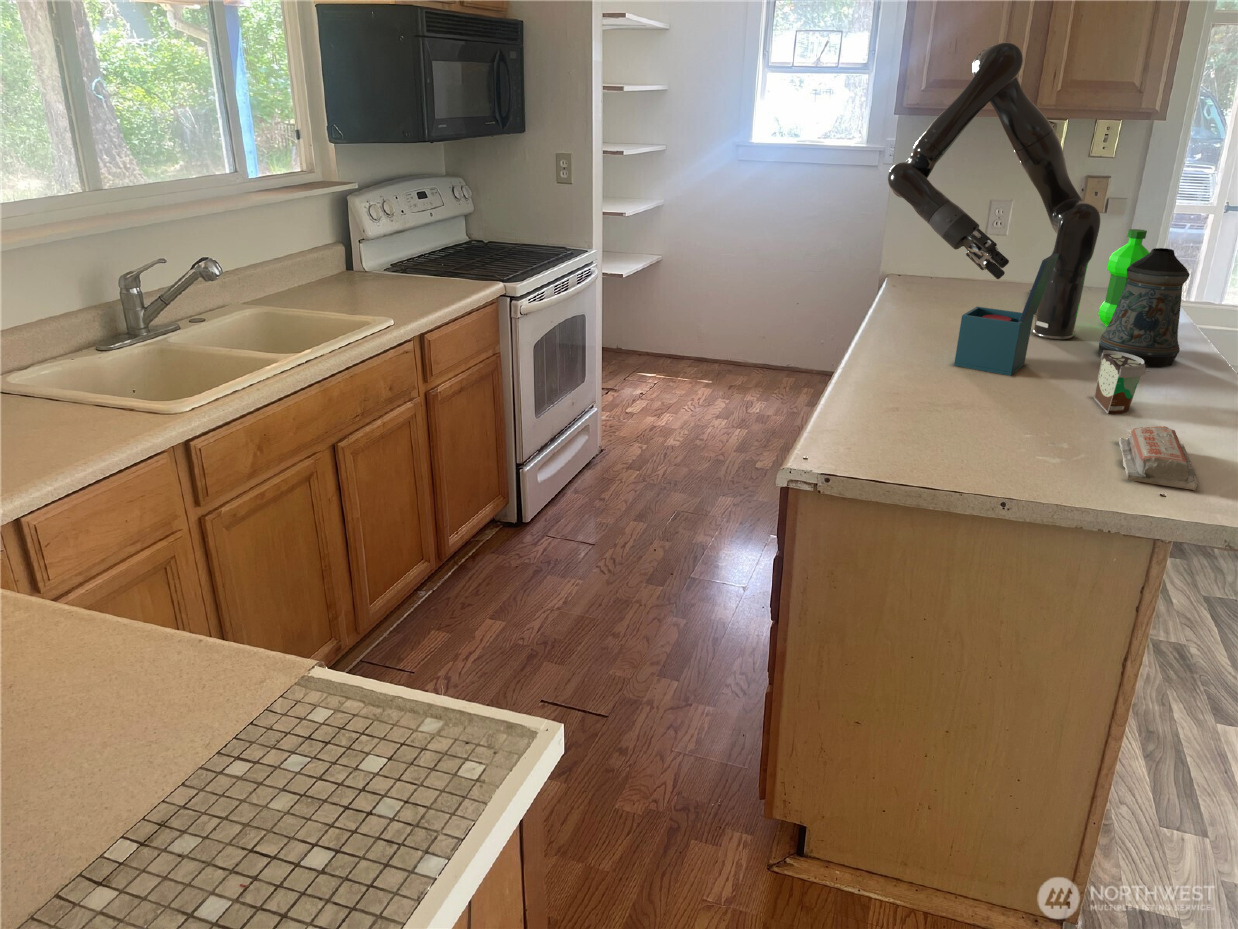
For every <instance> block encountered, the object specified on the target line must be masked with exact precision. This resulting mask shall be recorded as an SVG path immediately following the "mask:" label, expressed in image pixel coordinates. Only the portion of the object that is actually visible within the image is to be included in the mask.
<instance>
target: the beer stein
mask: <svg viewBox="0 0 1238 929" xmlns="http://www.w3.org/2000/svg"><path fill="white" fill-rule="evenodd" d="M1127 277H1128V279H1127V283H1126V286H1125V288H1124V290H1123V293H1122V295H1121V298H1120V300H1119V302H1118V305H1117V307H1116V309H1115V312H1114V314H1113V316H1112V319H1111V321H1110V323H1109V324H1108V326H1106V328H1105V330H1104V332H1103V333H1102V334H1101V335H1100V337H1099V340H1098V355H1099V356H1100V357H1101V356H1102V353H1103V350H1108V351H1117V352H1123V353H1127V354H1131V355H1134V356H1137V357H1139V358H1141V359H1143V360H1144V364H1145V368H1165V367H1171V366H1172V365H1173V364H1174V362H1175V360H1176V358H1177V357H1178V355H1179V353H1180V351H1181V349H1180V344H1179V339H1178V338H1179V324H1180V317H1181V316H1180V315H1181V309H1182V308H1181V307H1182V298H1183V297H1182V296H1183V288H1184V287H1183V286H1184V284H1185V283H1186V282H1187V281H1188V279H1189V277H1190V272H1189V270H1188V268H1187V267H1186V266H1185V265H1184V264H1183V263H1182V262H1181V261H1180V260H1179V259H1178V258H1177V256H1176V255H1175V250H1174V249H1171V248H1166V247H1164V248H1163V247H1157V248H1155V247H1154V248H1152V249H1151V251H1149V254H1148V255H1146V256H1144V257H1143V258H1141V259H1139V260H1138V261H1136V262H1134V263H1133V264H1131V265H1130V266H1129V267H1128V268H1127Z"/></svg>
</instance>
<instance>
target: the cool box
mask: <svg viewBox="0 0 1238 929" xmlns="http://www.w3.org/2000/svg"><path fill="white" fill-rule="evenodd" d="M984 315H1002V316H1006V317H1009V318H1011V319H1012V320H1011V321H1004V320H997V319H990V318H983V317H982V316H984ZM1021 315H1022V312H1020V311H1012V310H1005V309H998V308H993V307H984V306H975V307H974V308H972V309H970V310H968V311H967V312H964V313H963V314H962V315H961V317H960V324H959V332H958V338H957V343H956V350H955V356H954V363H953V366H955V367H960V368H965V369H970V370H977V371H981V372H988V373H993V374H997V375H998V374H999V375H1005V376H1009V377H1011V376H1013V375H1014V374H1016V373H1017V371H1018V370H1020V369H1021V368H1022V367H1023V366H1025V362H1026V357H1027V354H1028V353H1027V352H1028V347H1029V341H1030V336H1031V331H1032V326H1033V321H1034V315H1035V314H1034V315H1032V316H1031V317H1030V318H1028V319H1027V320H1025V321H1024V322H1021V321H1019V320H1020V318H1021Z"/></svg>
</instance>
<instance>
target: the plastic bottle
mask: <svg viewBox="0 0 1238 929" xmlns="http://www.w3.org/2000/svg"><path fill="white" fill-rule="evenodd" d="M1147 233H1148V230H1146V229H1141V228H1138V229H1137V228H1131V229H1128V231H1127V235H1126V238H1128V242H1127V243H1126V244H1124V245H1123V246H1121V247H1119V248H1118V249H1116V250H1115V251H1113V252H1112V253H1111V254H1110V256H1109V258H1108V262H1107V271H1108V273H1109V274H1110V277H1109V281H1108V286H1107V289H1106V290H1107V291H1106V295H1105V299H1104V301H1103V302H1102V303H1101V305H1100V306H1099V309H1098V318H1099V321H1100V322H1101V323H1102V324H1103V325H1104V326H1105V327H1107V326H1108V324H1109V323H1110V321H1111V319H1112V316H1113V314H1114V312H1115V309H1116V307H1117V305H1118V302H1119V300H1120V298H1121V295H1122V293H1123V290H1124V288H1125V286H1126V283H1127V279H1128V277H1127V268H1128V267H1129V266H1130V265H1131V264H1133V263H1134V262H1136V261H1138V260H1139V259H1141V258H1143V257H1144V256H1146V255H1148V254H1149V253H1150V251H1149V249H1147V248H1146V247H1145V246H1144V244H1143V241H1144V240H1145V239H1146V237H1147Z"/></svg>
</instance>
